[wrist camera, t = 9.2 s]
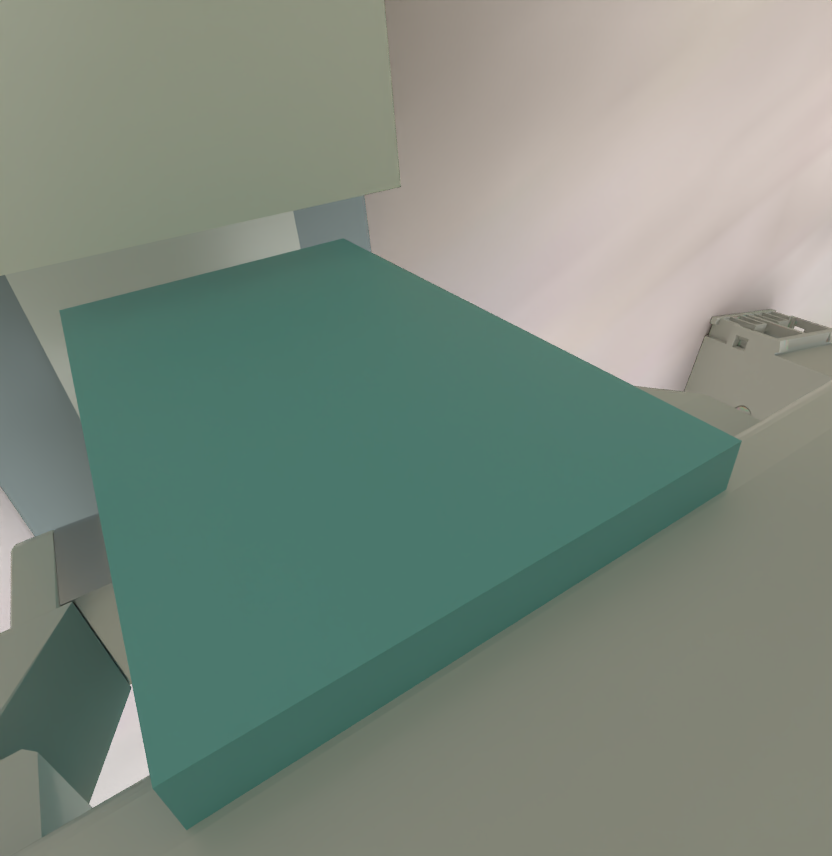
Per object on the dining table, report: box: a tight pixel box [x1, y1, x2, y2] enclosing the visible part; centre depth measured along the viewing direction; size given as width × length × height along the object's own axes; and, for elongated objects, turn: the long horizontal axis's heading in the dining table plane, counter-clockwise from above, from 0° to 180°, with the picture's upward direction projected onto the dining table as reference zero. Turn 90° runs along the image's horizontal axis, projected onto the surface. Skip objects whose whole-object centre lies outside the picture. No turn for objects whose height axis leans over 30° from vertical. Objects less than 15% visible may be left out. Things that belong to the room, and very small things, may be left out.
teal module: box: [59, 238, 742, 830], centre depth 9 cm, size 5×6×9 cm
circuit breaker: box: [684, 309, 832, 421], centre depth 37 cm, size 8×14×15 cm, turn 173°
